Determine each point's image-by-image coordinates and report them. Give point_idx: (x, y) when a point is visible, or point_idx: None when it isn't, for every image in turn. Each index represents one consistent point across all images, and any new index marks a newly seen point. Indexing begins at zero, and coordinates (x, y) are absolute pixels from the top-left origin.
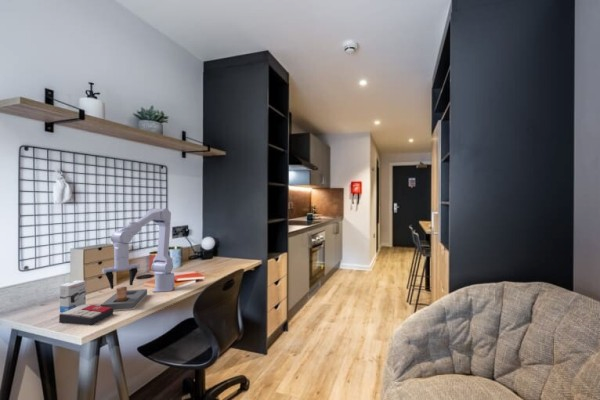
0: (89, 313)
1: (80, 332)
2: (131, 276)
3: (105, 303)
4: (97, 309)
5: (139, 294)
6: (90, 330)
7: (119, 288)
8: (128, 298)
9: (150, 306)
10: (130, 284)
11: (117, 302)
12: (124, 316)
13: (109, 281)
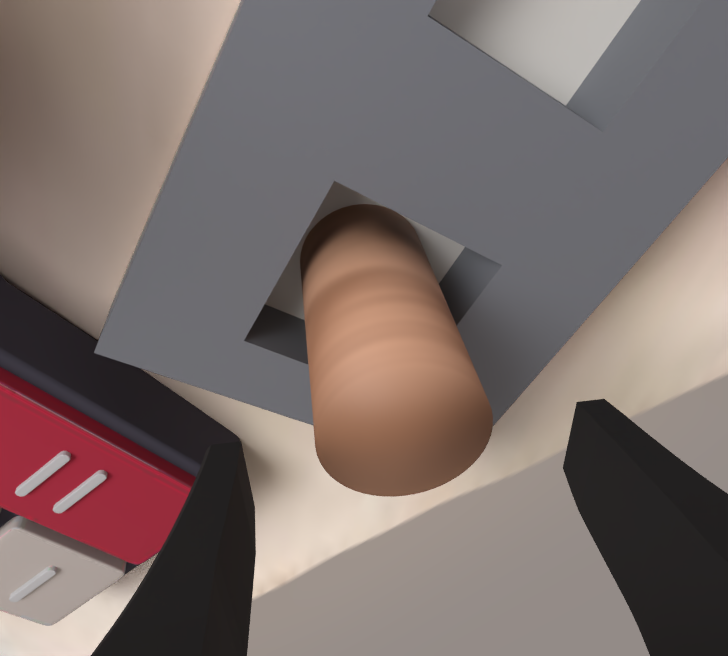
0: (7, 570)
1: (10, 636)
2: (663, 654)
3: (153, 332)
4: (75, 513)
5: (659, 191)
6: (77, 634)
7: (365, 449)
8: (474, 248)
9: None
10: (572, 461)
11: (304, 376)
12: (325, 523)
13: (167, 576)
